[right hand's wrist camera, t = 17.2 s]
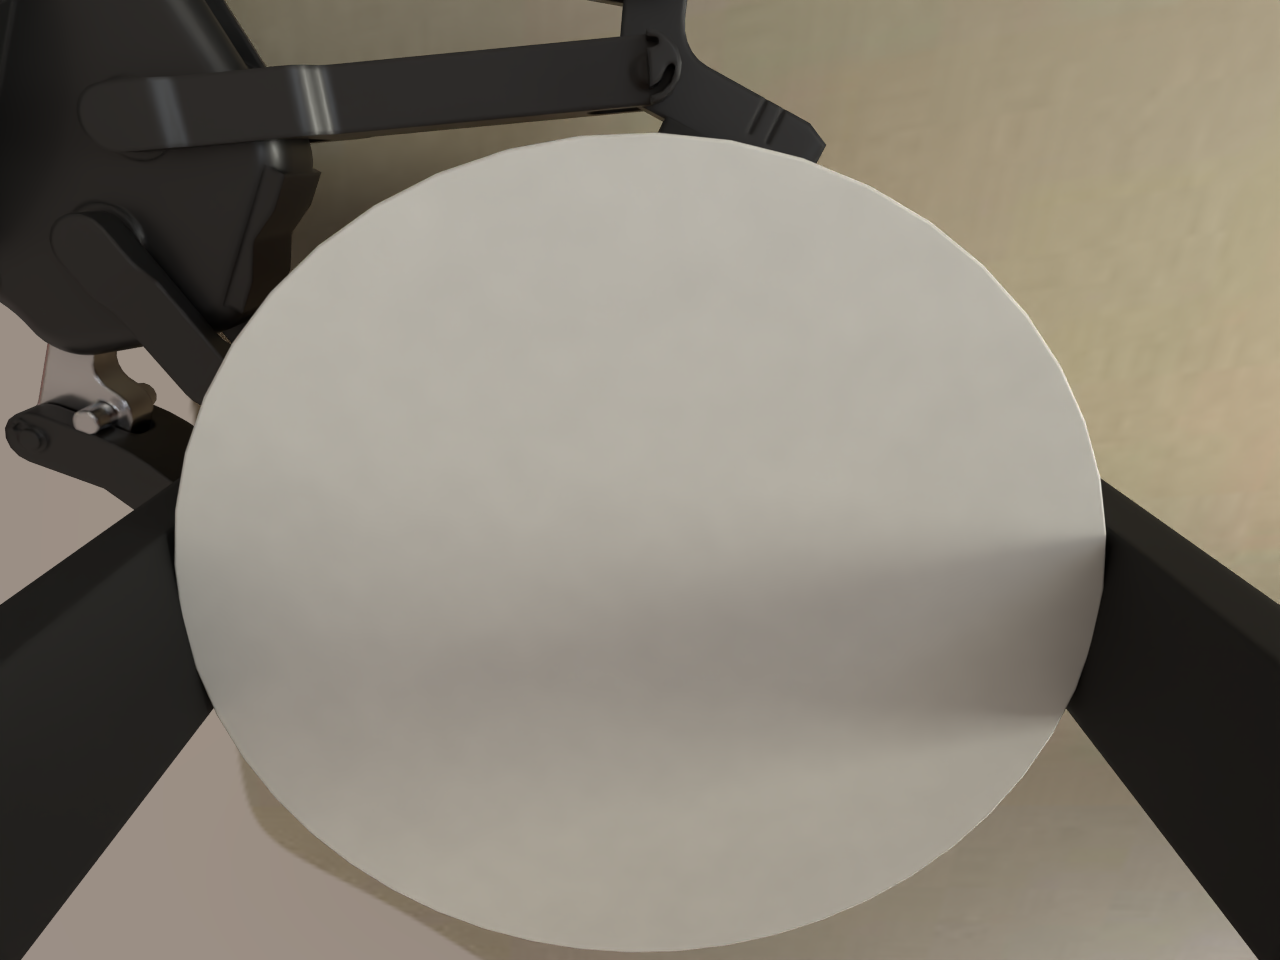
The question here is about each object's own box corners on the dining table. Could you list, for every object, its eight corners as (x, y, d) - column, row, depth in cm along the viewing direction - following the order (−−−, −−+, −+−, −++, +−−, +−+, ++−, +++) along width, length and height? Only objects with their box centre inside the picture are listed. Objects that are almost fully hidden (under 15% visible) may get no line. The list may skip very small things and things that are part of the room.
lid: (229, 56, 10) (139, 35, 8) (1169, 220, 10) (1274, 235, 9) (249, 813, 14) (194, 905, 12) (909, 893, 15) (945, 992, 13)
